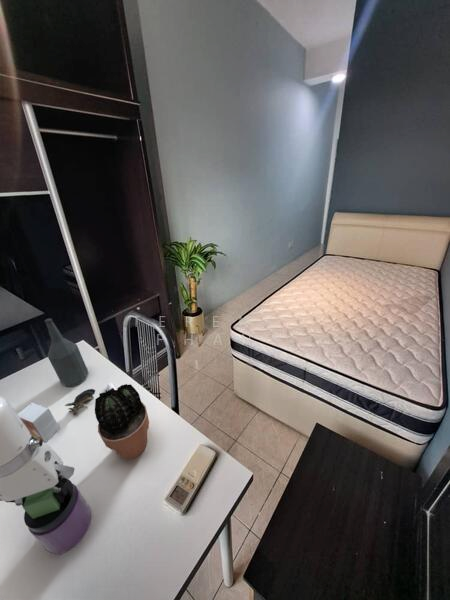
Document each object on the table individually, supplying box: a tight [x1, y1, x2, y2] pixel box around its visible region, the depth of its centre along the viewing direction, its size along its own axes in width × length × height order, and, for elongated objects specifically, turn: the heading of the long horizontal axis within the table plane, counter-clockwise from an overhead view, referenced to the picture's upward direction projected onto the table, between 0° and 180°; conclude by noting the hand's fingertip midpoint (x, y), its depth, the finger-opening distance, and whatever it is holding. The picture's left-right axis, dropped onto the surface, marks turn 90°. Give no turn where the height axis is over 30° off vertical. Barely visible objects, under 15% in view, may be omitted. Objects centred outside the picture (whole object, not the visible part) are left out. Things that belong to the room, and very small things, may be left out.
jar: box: [27, 482, 92, 555], centre depth 58 cm, size 10×10×12 cm
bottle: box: [44, 317, 89, 388], centre depth 98 cm, size 10×10×30 cm
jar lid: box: [23, 478, 77, 533], centre depth 55 cm, size 10×9×2 cm
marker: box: [106, 381, 117, 390], centre depth 94 cm, size 18×2×2 cm, turn 41°
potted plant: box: [94, 383, 150, 460], centre depth 72 cm, size 14×14×25 cm
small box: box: [17, 402, 61, 444], centre depth 81 cm, size 8×6×10 cm
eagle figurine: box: [64, 388, 96, 416], centre depth 91 cm, size 8×7×9 cm
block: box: [22, 489, 60, 519], centre depth 54 cm, size 5×5×5 cm
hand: (48, 500), depth 55 cm, fingers closed on block, 5 cm apart
